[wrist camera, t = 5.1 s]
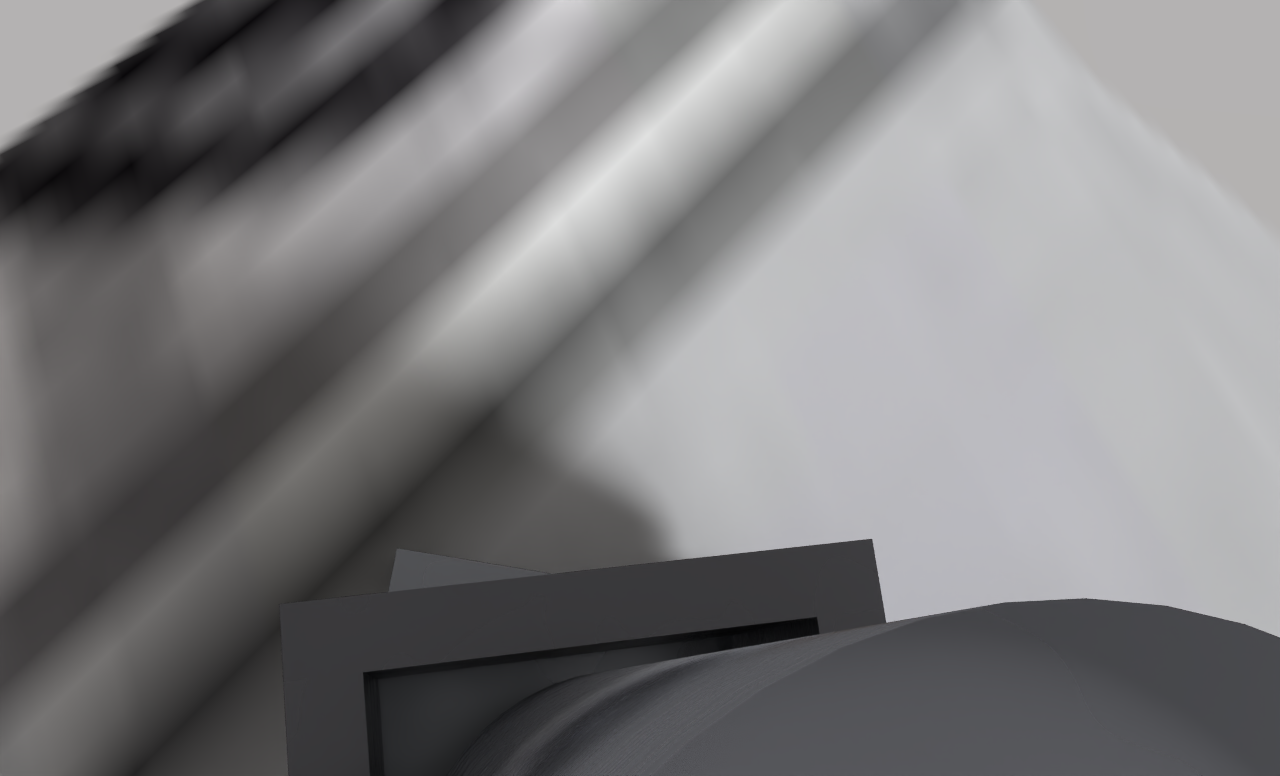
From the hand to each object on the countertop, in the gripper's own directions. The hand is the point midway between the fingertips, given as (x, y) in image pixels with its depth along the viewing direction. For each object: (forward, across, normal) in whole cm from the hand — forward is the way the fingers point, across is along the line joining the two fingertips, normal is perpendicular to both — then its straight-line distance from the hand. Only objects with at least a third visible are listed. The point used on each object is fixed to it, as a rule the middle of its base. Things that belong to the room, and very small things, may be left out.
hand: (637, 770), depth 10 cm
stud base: (+5, 0, +7) cm, 9 cm away
